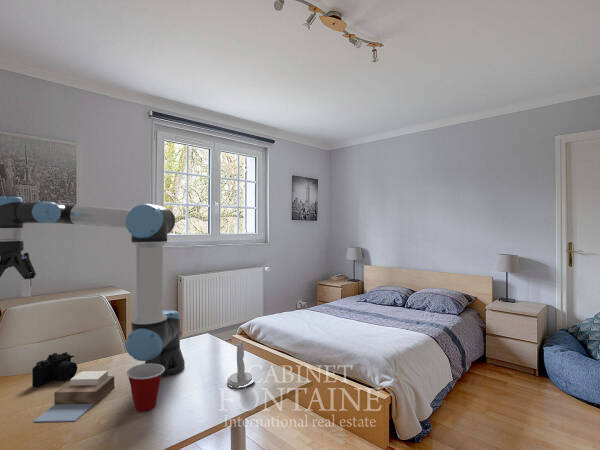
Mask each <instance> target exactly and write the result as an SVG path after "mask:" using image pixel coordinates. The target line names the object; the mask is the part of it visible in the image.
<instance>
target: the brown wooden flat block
mask: <svg viewBox="0 0 600 450" xmlns="http://www.w3.org/2000/svg"><path fill="white" fill-rule="evenodd" d="M114 388H115V375H108V377H107V378H106V379H104V380H103V381H102V382H101V383H100V384H98V385H70V381H68V382H67V383H66V384H65V385H64V384H63V386H62V387H60V388H59V389H57V390H56V391H54V393H53V394H54V395H53V396H54V405H55V404H94V405H96V404H98V403H99V402H100V401H101V400H102V399H104V398H105V396H107V395H108V394H109V393H110V392H112V390H113V389H114Z"/></svg>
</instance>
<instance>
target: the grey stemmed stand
mask: <svg viewBox="0 0 600 450" xmlns="http://www.w3.org/2000/svg"><path fill="white" fill-rule="evenodd" d="M236 347H237V348H236V366H237V368H236V369H237V372H235V373H232V374H230V376H229V377H227V380H226V384H228V385H230V386H232V387H239V386H244V385H246V384H248V383H249V382H250V381H251V380H252V376H253V374H252V373H250V372H246V371H245V369H246V368H245V367H246V365H245V362H244V358H245V349H244V343H243V341H241V340H239V341H238V342H237V346H236ZM228 385H227V386H228ZM232 387H231V388H232Z"/></svg>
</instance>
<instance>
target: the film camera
mask: <svg viewBox="0 0 600 450" xmlns="http://www.w3.org/2000/svg"><path fill="white" fill-rule="evenodd" d="M74 357H76V355H71V354H68V352H67V351H66V352H62V353H56V352H53V353H51V354H49V355H48V357H47V358H46V360H45V359H44V360H39V361H38V362H36V364H35V366H33V367H32V371H31V372H32V377H31V378H32V388H36V389H37V388H40V387H43V386H45V385H47V384H48V383H51V382H53V381H58V380H65V381H67V380H70V379H72V378H73V377H75V376H76V375H77V371H78V365H77V363H76V362H74V361H72V360H71V359H72V358H74Z"/></svg>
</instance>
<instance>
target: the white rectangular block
mask: <svg viewBox="0 0 600 450" xmlns="http://www.w3.org/2000/svg"><path fill="white" fill-rule="evenodd" d="M108 376H109V371H108V370H99V371H98V370H95V371H91V370H90V371H80V372H79V373H76V374H75V376H74V377H73V378H71V379H69V380H70V381H69V382H70V385H98V384H100V383H101V382H102V381H103V380H104V379H106V378H107V377H108Z"/></svg>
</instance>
